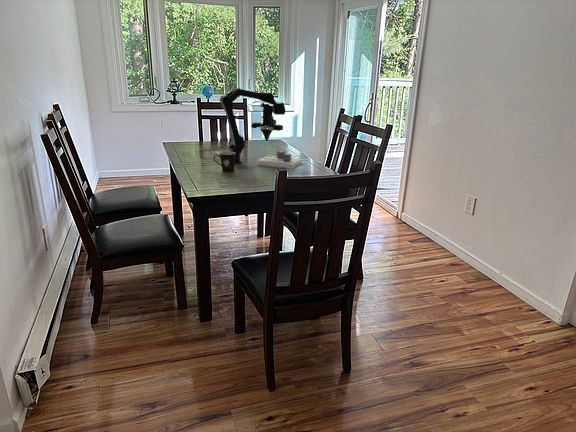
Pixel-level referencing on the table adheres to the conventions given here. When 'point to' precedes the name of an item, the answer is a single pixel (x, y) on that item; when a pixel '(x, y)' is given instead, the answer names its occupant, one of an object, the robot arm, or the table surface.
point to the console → (279, 162)
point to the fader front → (287, 157)
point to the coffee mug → (227, 161)
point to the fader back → (280, 154)
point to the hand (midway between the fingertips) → (266, 140)
